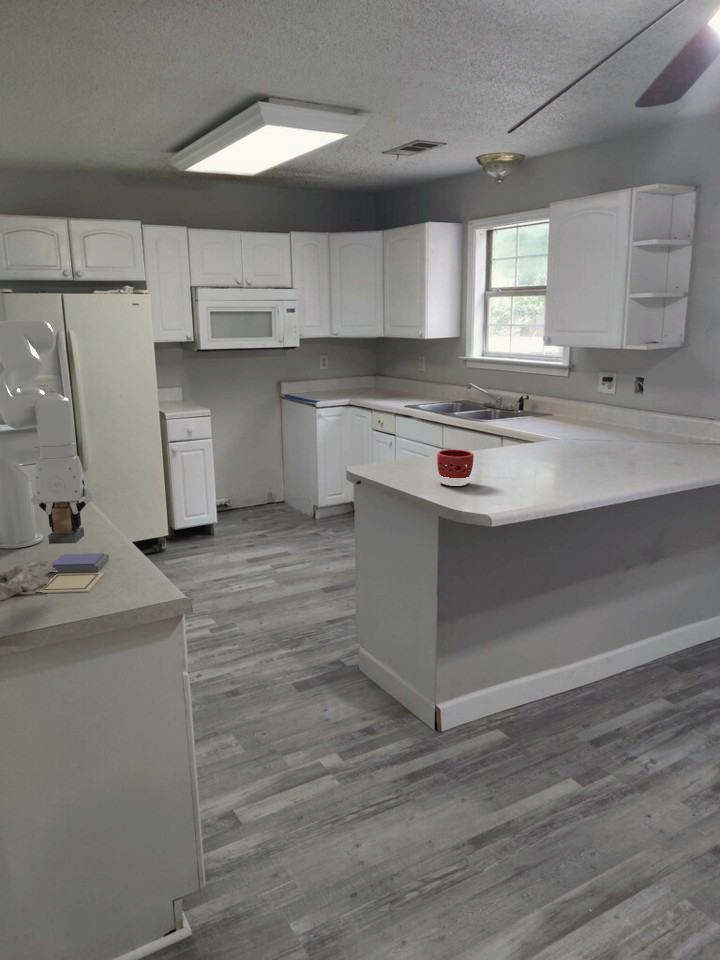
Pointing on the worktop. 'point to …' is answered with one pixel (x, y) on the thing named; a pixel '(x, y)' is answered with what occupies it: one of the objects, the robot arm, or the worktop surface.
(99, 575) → the card
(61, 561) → the ink pad
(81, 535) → the stamp
